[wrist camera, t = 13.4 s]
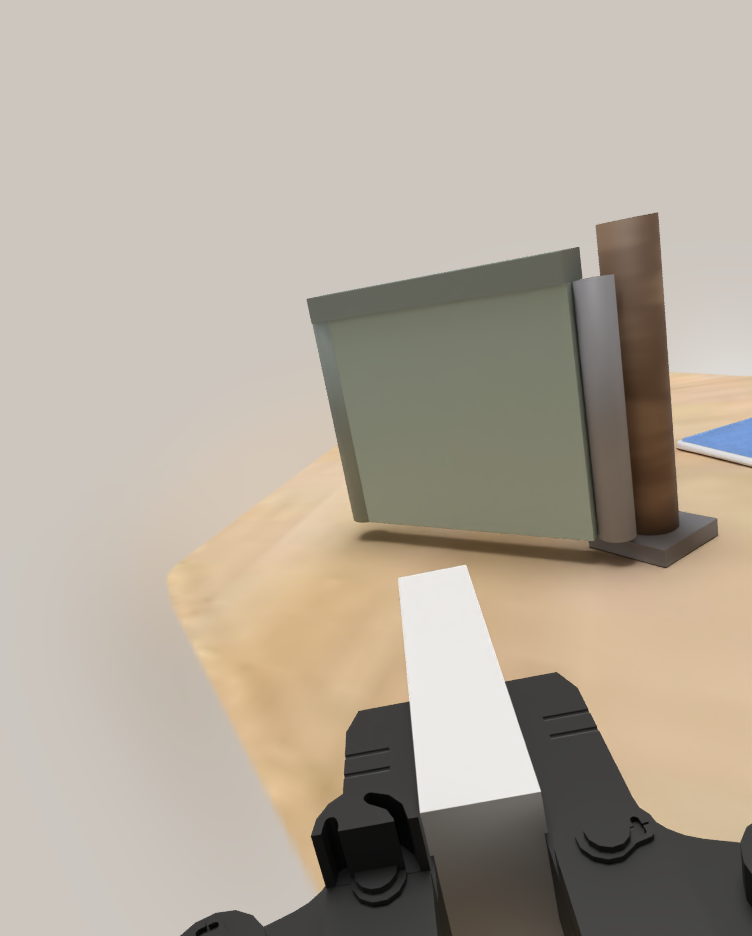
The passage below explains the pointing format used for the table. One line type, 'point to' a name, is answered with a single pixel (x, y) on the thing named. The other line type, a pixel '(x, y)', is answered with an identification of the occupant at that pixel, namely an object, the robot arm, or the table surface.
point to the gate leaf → (482, 400)
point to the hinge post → (647, 395)
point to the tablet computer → (723, 442)
